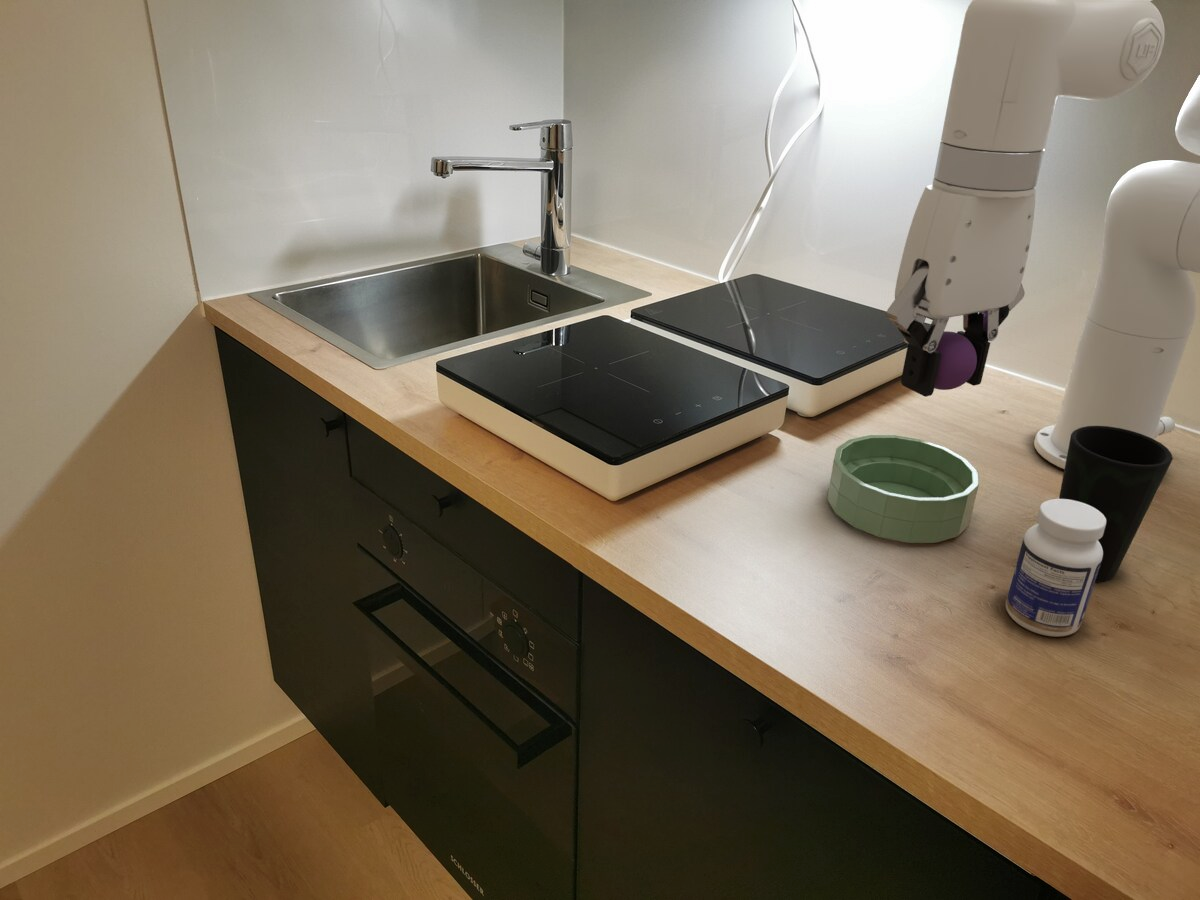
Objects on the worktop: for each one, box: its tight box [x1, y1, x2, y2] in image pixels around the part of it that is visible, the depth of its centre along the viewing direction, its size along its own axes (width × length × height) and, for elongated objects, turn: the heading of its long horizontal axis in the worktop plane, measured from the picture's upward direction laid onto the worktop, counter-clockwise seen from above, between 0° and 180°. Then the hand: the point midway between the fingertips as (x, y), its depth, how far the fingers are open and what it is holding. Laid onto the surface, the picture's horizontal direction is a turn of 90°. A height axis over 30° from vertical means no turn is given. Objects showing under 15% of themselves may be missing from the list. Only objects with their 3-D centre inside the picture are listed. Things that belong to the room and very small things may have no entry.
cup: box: [1058, 426, 1174, 583], centre depth 79 cm, size 8×8×12 cm
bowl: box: [826, 434, 980, 544], centre depth 88 cm, size 13×13×5 cm
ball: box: [934, 330, 977, 391], centre depth 78 cm, size 5×5×5 cm
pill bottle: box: [1005, 498, 1106, 637], centre depth 72 cm, size 6×6×10 cm
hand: (940, 382), depth 79 cm, fingers closed on ball, 4 cm apart
